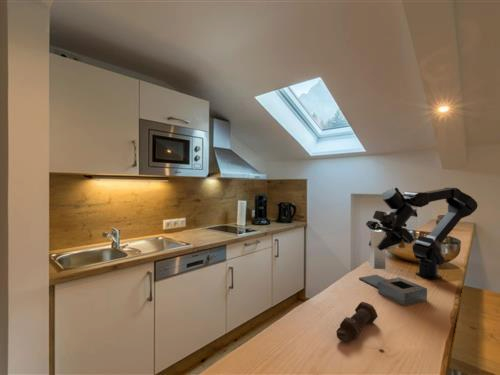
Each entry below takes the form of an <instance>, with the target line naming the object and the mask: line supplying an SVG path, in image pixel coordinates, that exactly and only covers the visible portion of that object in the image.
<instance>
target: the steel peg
mask: <svg viewBox="0 0 500 375" xmlns="http://www.w3.org/2000/svg"><path fill="white" fill-rule="evenodd" d="M369 232H370V238H369V239H370V240H369V242H370V246H369V248H370V249H369V250H370V252H369V254H370V257H369V258H370V260H369V262H370V263H369V266H371V267H372V268H373V269H375V270H386V254H387V248H386V249H383V250H380V249H379V247H380V245H381V244H382V242H383V241H384V240H385V238H386V237H387V233H386V232H385V231H383V230H370V231H369Z"/></svg>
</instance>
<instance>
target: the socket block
mask: <svg viewBox="0 0 500 375" xmlns="http://www.w3.org/2000/svg"><path fill="white" fill-rule="evenodd" d="M386 279H387V280H382V281H378V288H377V293H378V294H380V295H382V296H384V297H385V298H388V299H390V300H392V301H393V302H396V303H397V304H399V305H401V306H403V307H406V306H411V305H415V304H420V303H422V302H423V303H424V302H427V301H428V288H427V287H425V286H422V285H420V284H417V283H414V282H412V281H409V280H408V279H405V278H403V277H400V276H399V277H395V278H386Z"/></svg>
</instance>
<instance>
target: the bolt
mask: <svg viewBox="0 0 500 375" xmlns="http://www.w3.org/2000/svg"><path fill="white" fill-rule="evenodd" d="M354 311H355V313H354V314H353V315H352V316H351V317H348V316H346V317H345V318H343V320H342V321H341V322H340V324H339V327H338V329H336V338H337V339H338V340H339V341H341V342H342V343H348V342H349V341H350V340H351V339H352V340H355V339H357V337H358V336H359V335H360V333H361V332H362V330H361V329H362V328H363V327H364V326H365V325H366V324H369V325H372V324H373V323H374V322H375V321H376V319H377V318H378V313H377V311H376V309H375V307H374V306H373V305H372V304H371V303H368V302H365V301H361V302H360V303H359V304H358V305H357V306H356V307H355V309H354Z"/></svg>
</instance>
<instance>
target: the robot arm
mask: <svg viewBox="0 0 500 375" xmlns="http://www.w3.org/2000/svg"><path fill="white" fill-rule="evenodd" d="M380 198H381V200H382V201H383V202H384V203H385V205H387V206H388V208H389V209H390V210H393V211H390V210H389V211H383V210H375V212H374V214H373V216H372V219H374V220H378V221H379V222H378V221H374V220H368V221H366V223H365V225H366V226H367V228H368V229H370V230H383V231H385V232H386V238H385V240H384V241H383V242H382V244H381V245H380V247H379V249H380V250H383V249H386V250H387V249H388V248H390V247H392V246H395V245H398V244H403V243H406V244H407V245H411V244H413V243H414V244H413V245H412V252H413V256H414V258H415V259H417V260H419V264H418V272H415V275H417V276H420V277H422V278H425V279H428V280H437V279H442V278H443V276H442V275H439V266H441V265H443V264H444V263H445V260H446V259H445V258H444V256H443V255H442V254H441V251H442V246H441V244H442V242H444V240H445V239H446V238H447V236H448V235H449V234H450V233H451V232H452V231H453V229H454V228H455V227H456V226H457V224H459V222H460V221H461V219H463V218H466V217H468V216H471V215H472V214H473V213H474V212H475V211H476V210H477V209H478V202H476V199H474V198H473V197H472V196H471V195H469V194H467V193H465V192H463V191H461V189H460V188H457V187H444V188H439V189H434V190H430V191H429V190H427V191H405V192H404V193H403V194H402V192H401V191H400V189H399V188H398V187H396V186H395V187H391V189H388V190H386V191H385V192H383V193H382V194H381V196H380ZM441 200H445V203H446V204H447V212H446V214H445V215H444V216H443V217H442V218H441V219H440V221H439V222H438V223H437V224H436V226H434V228H433V229H432V230H431V231H430V232H429V234H428V235H426V236H424V235H419V236H417V239H416V240H415V241H414V236H413V235H412V233H411V232H410V230H409V229H407V228H406V227H407V226H408V225H407V224H406V223H407V222H408V220H409V219H410V218H411V217H415V218H418V213H417V211H418V210H417V209H414V208H415V207H416V208H423V207H426V206H428V205H429V204H430V203H431V202H436V201H437V202H438V201H441ZM413 207H414V208H413ZM379 223H380V224H379ZM381 225H382V226H381ZM368 246H369V247H370V241H369V243H368Z"/></svg>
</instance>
